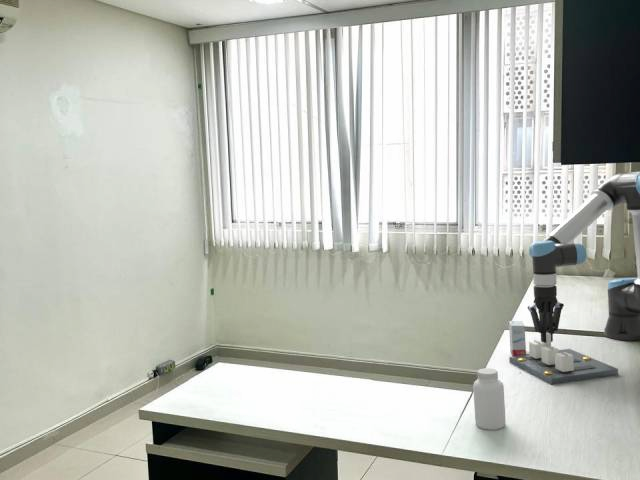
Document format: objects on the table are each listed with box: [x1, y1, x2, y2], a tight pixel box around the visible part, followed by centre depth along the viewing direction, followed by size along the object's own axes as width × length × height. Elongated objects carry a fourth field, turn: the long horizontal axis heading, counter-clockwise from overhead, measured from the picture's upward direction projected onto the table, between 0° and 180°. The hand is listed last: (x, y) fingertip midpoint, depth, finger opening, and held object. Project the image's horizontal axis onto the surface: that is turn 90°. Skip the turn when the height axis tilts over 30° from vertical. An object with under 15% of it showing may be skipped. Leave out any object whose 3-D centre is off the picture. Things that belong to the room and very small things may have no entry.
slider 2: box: [541, 345, 560, 365], centre depth 204 cm, size 4×4×5 cm
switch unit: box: [508, 348, 619, 386], centre depth 205 cm, size 24×26×2 cm
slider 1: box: [528, 339, 546, 359], centre depth 212 cm, size 4×4×5 cm
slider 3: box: [555, 352, 574, 372], centre depth 196 cm, size 4×4×5 cm
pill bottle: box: [472, 367, 506, 431], centre depth 163 cm, size 8×8×15 cm
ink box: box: [508, 320, 527, 357], centre depth 224 cm, size 9×5×12 cm, turn 168°
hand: (547, 351), depth 213 cm, fingers closed
